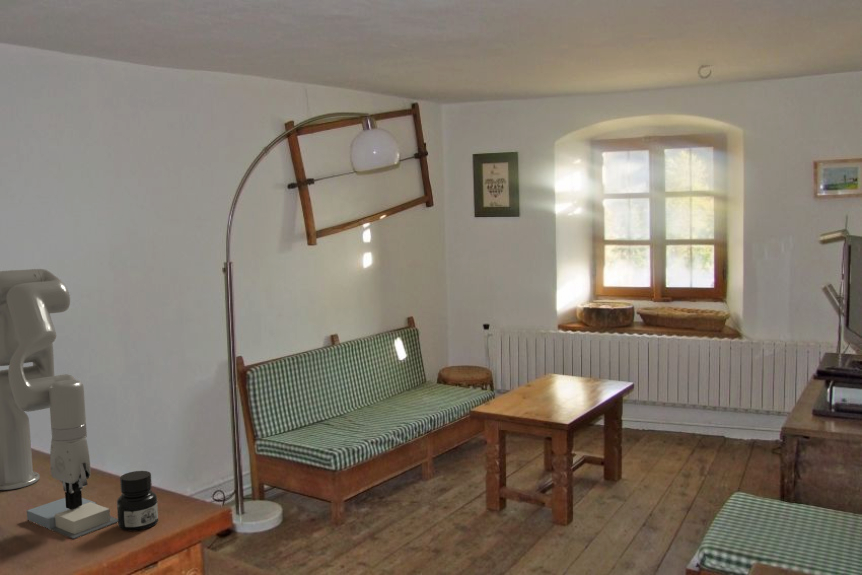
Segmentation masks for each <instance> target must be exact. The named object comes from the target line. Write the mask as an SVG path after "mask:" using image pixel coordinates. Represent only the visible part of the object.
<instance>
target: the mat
mask: <svg viewBox="0 0 862 575" xmlns="http://www.w3.org/2000/svg"><path fill="white" fill-rule="evenodd" d="M117 522H118V517H117V518H116V517H114V516H111V515H110V521H109V522H106V523H103V524H101V525H98V526H95V527H93V528H90V529H87V530H85V531H82V532H79V533H77V534H73V533H70V532H68V531H65V530H63V529H60V528H58V527H54V528H51V529H50V531H52V530H53V531H52V532H54V533H57V532H58V534H60V535H63V536H65V537H67V538H69V539H72V540H76V539H78V537H79V538H81V537H83V535H84V536H86V535H89V534H91V533H90V532H92V531H94V532H96V531H95V530H97V531H99V530H101V528H102V529H104V528H103V527H105V528H107V527H110V526H113V525H115V524H118V523H117ZM114 523H115V524H114ZM112 524H113V525H112ZM109 525H110V526H109ZM106 526H107V527H106ZM98 529H99V530H98ZM88 533H89V534H88ZM92 533H93V532H92ZM85 534H86V535H85ZM80 536H81V537H80Z"/></svg>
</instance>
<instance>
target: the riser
mask: <svg viewBox="0 0 862 575" xmlns="http://www.w3.org/2000/svg"><path fill="white" fill-rule="evenodd" d="M89 502H92V503H94V504H97V502H95V501H92V500H89V499H87V498H84V497H82V505H83V504H86V503H89ZM66 510H69V508H66V500H65V497H63V498H60V499H57V500H54V501H50V502H49V503H45V504H42V505H39V506H37V507H36V506H35V507H33V508H29V509H26V520H27V521H28V520H30V521H32V522H35V523H37V524H39V525H38V526H40V525H41V526H40V527H42V526H44V527H43V528H45V527H46V529H47V528H48V529H47V530H51V528H54V527H56V523H55V514H57V513H60V512H63V511H66ZM30 521H29V522H30ZM32 522H31V523H32ZM35 523H34V524H35ZM37 524H36V525H37Z"/></svg>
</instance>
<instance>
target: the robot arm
mask: <svg viewBox="0 0 862 575" xmlns="http://www.w3.org/2000/svg"><path fill="white" fill-rule="evenodd" d="M70 296H71V295H70V292H69V290H68V288H67V286H66V285H65V283H64V282H63V281H62V280H61V279H60V278H59V277H58V276H56V275H55V274H54V273H52V272H51V271H50V270H48V269H44V268H33V269H32V268H31V269H15V270H14V269H12V270H0V367H5V366H8V369H2V370H0V491H6V490H7V491H9V490H15V489H21V488H25V487H28V486H31V485H33V484H35V483H36V482H38V481H39V480H40V473H39V472H37V471H34V470H33V469H34V468H33V455H32V444H31V443H32V440H31V428H30V426H31V425H30V419H29V416H28V414H27V413H29V412H35V411H40V410H46V409H49V414H50V415H49V416H50V428H51V430H50V431H51V441H50V451H49V452H50V458H49V459H50V461H49V464H50V475H51V477H52V478H53V479H55V480H57V481H60V482H61V483H62V488H63V491H64V495H65V496H64V498H65V500H66V508H69V509H74V508H76V507H79V506H82V498H83V496H82V493H83V492H82V491H83V489H84V488H85V487H87V486H88V480H89V479H90V477H91V470H92V469H91V460H90V451H89V446H88V441H87V438H88V434H87V420H86V419H87V418H86V403H85V400H86V399H85V388H84V384H83V382H82V381H80V380H77V379H76V378H75V377H74V376H73V375H71V374H58V375H55V360H54V359H55V358H54V344H53V342H55V341H56V338H57V333H56V329H55V327H54V324H53V320H52V317H51V314H57V313H60V314H61V313H64V312H66V311H67V310H68V309H69V307H70V305H71V297H70ZM27 363H28V364H29V363H32V365H28V366H24V364H27Z"/></svg>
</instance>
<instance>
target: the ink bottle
mask: <svg viewBox="0 0 862 575" xmlns="http://www.w3.org/2000/svg"><path fill="white" fill-rule="evenodd" d="M119 479H120V480H119V481H120V493H121V495H120V496H119V497H118V498H117V499H116V500H117V501H116V508H117V509H116V510H117V512H116V513H117V519H118V523H117V526H118V528H119V529H120V530H122V531H127V532H137V531H143V530H146V529H149V528H151V527H153V526H155V525H157V524H158V522H159V508H158V507H159V506H158V497H157V493H156V492H154V491H152V485H153V484H152V483H153V482H152V474H151V472H150V471H147V470H136V471H135V470H134V471H128V472H126V473H123V475H120V477H119Z"/></svg>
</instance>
